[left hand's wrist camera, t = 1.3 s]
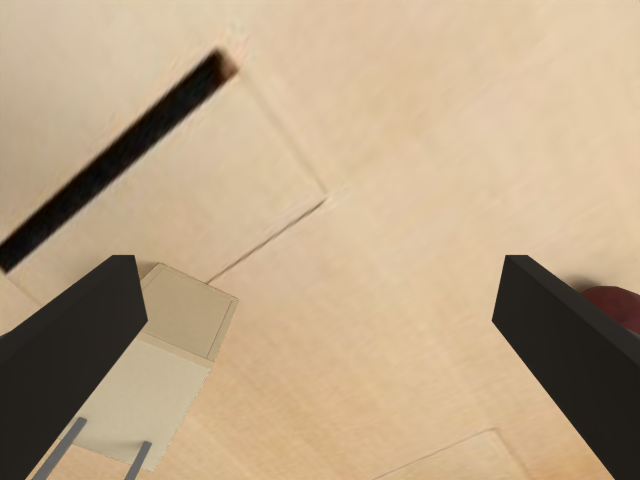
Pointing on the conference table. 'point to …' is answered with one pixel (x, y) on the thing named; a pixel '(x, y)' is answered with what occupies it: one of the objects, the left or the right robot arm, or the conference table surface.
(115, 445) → the lid
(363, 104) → the conference table surface
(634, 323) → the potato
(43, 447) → the left robot arm
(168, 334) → the chest
